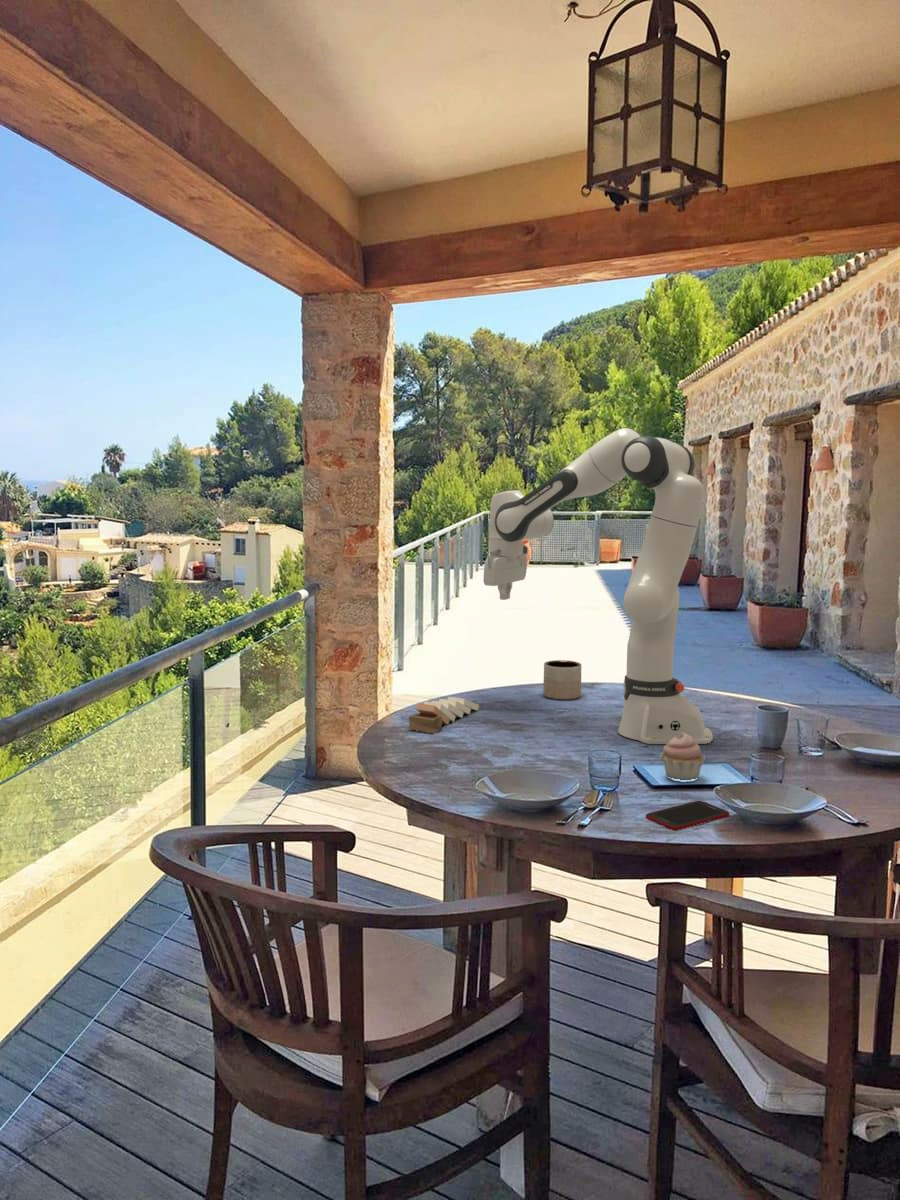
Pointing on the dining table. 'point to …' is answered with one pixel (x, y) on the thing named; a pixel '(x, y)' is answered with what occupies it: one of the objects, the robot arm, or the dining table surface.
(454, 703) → the domino
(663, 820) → the cell phone
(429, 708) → the domino
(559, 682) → the planter
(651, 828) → the dining table surface
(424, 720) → the block
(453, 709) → the domino
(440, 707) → the domino
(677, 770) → the cupcake
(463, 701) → the domino
